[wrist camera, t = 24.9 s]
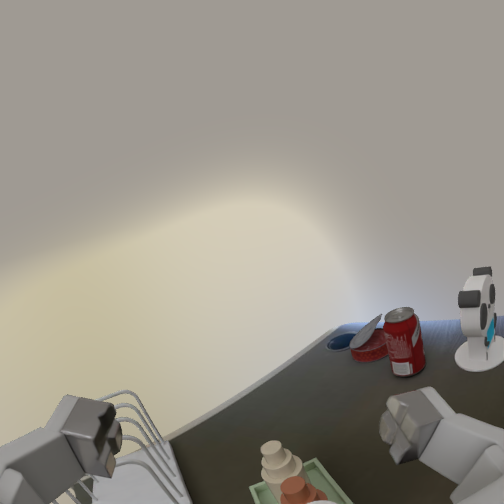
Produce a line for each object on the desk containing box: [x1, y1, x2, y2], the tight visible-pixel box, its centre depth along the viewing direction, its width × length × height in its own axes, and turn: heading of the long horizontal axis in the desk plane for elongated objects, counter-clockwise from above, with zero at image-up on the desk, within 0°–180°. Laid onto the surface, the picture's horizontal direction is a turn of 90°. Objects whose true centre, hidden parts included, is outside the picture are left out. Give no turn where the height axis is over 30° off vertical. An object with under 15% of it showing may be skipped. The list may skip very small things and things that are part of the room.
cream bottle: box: [261, 441, 312, 504], centre depth 29 cm, size 5×5×11 cm
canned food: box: [349, 314, 389, 362], centre depth 62 cm, size 11×10×10 cm
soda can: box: [383, 307, 425, 377], centre depth 49 cm, size 7×7×12 cm
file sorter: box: [52, 390, 193, 504], centre depth 35 cm, size 25×17×16 cm
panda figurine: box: [455, 267, 504, 372], centre depth 40 cm, size 12×11×15 cm
